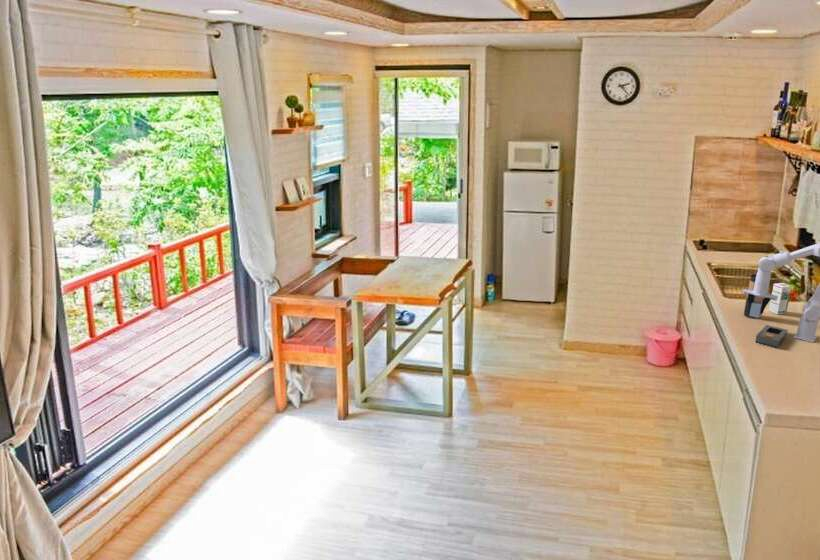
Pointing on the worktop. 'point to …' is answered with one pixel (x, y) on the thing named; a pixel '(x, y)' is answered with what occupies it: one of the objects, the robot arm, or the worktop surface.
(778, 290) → the syrup box
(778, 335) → the grey slotted block
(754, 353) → the worktop surface
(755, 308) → the plug
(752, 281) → the travel mug
